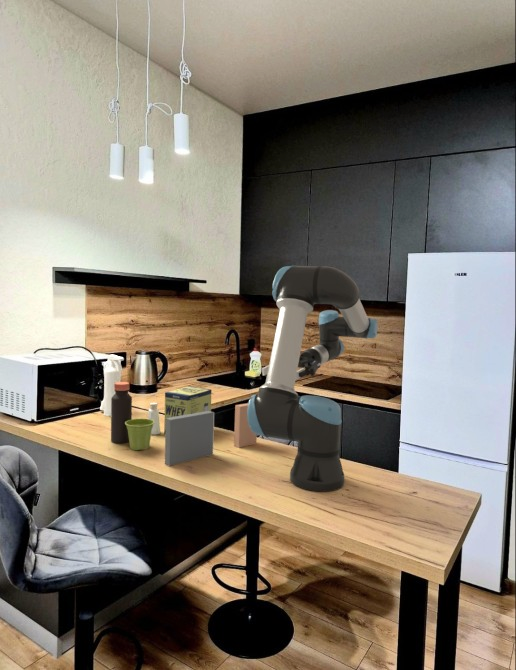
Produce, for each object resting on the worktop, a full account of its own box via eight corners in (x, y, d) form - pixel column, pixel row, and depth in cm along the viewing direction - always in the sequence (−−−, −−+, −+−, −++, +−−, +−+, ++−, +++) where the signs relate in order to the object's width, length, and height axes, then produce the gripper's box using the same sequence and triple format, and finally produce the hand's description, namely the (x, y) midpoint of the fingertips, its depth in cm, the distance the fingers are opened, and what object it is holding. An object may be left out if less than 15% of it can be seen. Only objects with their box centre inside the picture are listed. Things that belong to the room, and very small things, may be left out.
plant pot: (118, 449, 156) (118, 423, 155) (137, 441, 164) (137, 416, 164) (141, 454, 152) (141, 427, 151) (159, 446, 160) (160, 420, 160)
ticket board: (207, 453, 155) (209, 410, 154) (213, 455, 153) (214, 412, 152) (164, 463, 144) (165, 418, 143) (169, 466, 142) (170, 420, 141)
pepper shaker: (148, 435, 171) (148, 405, 171) (143, 431, 176) (143, 402, 175) (162, 433, 174) (163, 404, 173) (157, 430, 179) (158, 401, 178)
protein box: (163, 434, 174) (164, 392, 173) (188, 424, 188) (189, 385, 186) (186, 439, 169) (187, 395, 168) (211, 429, 183) (212, 388, 182)
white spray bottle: (107, 409, 206) (108, 352, 203) (126, 415, 199) (127, 355, 196) (94, 412, 200) (94, 353, 197) (113, 418, 194) (114, 357, 191)
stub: (251, 441, 168) (252, 402, 167) (256, 443, 166) (257, 403, 165) (234, 445, 162) (235, 405, 161) (238, 447, 161) (240, 406, 159)
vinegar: (112, 444, 160) (112, 385, 159) (109, 438, 166) (110, 381, 165) (132, 442, 163) (133, 384, 161) (129, 436, 169) (130, 380, 168)
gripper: (342, 371, 174) (305, 390, 160) (290, 362, 192) (253, 379, 177) (340, 351, 172) (303, 369, 158) (288, 344, 190) (250, 360, 176)
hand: (276, 374), depth 168 cm, fingers open, 13 cm apart
